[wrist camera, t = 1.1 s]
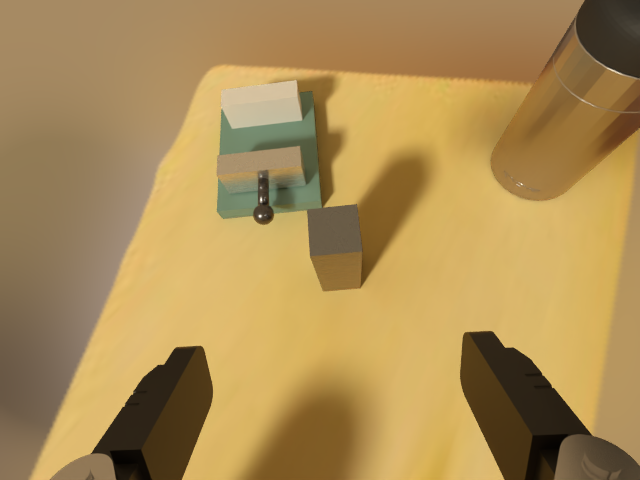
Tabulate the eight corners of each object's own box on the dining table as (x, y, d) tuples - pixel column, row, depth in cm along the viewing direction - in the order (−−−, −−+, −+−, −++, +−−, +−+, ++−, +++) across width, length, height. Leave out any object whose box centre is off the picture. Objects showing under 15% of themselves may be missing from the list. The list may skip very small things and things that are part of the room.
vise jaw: (308, 226, 38) (303, 211, 35) (228, 235, 39) (214, 220, 35) (305, 166, 41) (299, 146, 37) (229, 175, 42) (217, 155, 38)
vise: (322, 208, 42) (317, 182, 36) (223, 218, 42) (202, 194, 37) (313, 102, 47) (308, 65, 42) (226, 112, 48) (210, 78, 43)
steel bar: (320, 256, 39) (307, 209, 28) (356, 253, 39) (356, 204, 28) (323, 291, 38) (310, 256, 27) (360, 288, 38) (362, 251, 27)
